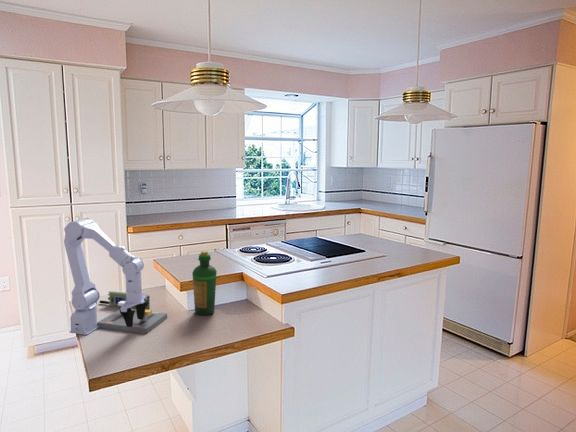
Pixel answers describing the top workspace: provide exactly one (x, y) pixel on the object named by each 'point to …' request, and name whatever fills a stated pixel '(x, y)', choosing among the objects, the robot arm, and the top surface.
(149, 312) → the amber switch
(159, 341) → the top surface
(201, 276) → the bottle
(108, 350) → the top surface
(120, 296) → the handheld radio
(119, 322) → the switch panel
